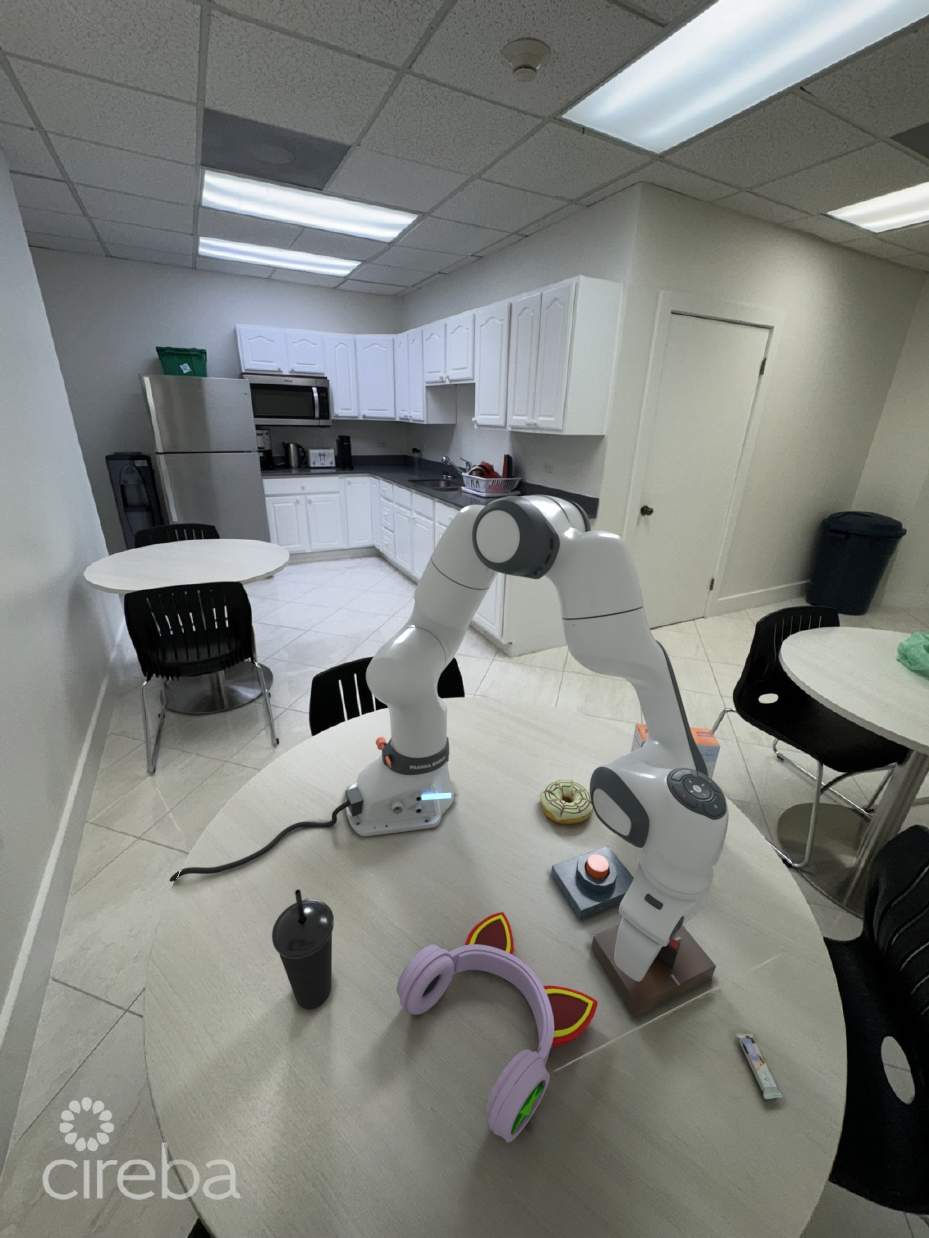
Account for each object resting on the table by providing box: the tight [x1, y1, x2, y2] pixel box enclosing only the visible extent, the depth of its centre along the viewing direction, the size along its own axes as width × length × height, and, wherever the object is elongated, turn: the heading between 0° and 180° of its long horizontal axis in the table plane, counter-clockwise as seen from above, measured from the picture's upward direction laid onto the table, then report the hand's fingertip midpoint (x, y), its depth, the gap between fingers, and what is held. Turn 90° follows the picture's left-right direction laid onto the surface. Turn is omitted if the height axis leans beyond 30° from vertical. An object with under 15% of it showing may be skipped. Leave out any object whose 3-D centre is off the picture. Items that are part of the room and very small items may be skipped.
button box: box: [550, 845, 634, 920], centre depth 84 cm, size 12×9×4 cm
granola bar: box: [735, 1032, 784, 1100], centre depth 62 cm, size 7×2×1 cm, turn 2°
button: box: [586, 854, 609, 879], centre depth 83 cm, size 4×4×2 cm
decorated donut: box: [539, 778, 594, 825], centre depth 101 cm, size 10×11×4 cm
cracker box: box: [630, 723, 721, 780], centre depth 95 cm, size 14×6×21 cm, turn 84°
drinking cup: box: [271, 888, 335, 1011], centre depth 65 cm, size 8×8×20 cm
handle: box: [656, 938, 681, 968], centre depth 71 cm, size 6×2×4 cm, turn 53°
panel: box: [590, 924, 717, 1018], centre depth 73 cm, size 14×10×3 cm
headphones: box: [396, 911, 599, 1143], centre depth 65 cm, size 20×10×20 cm
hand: (653, 945), depth 72 cm, fingers closed, pressing on handle
